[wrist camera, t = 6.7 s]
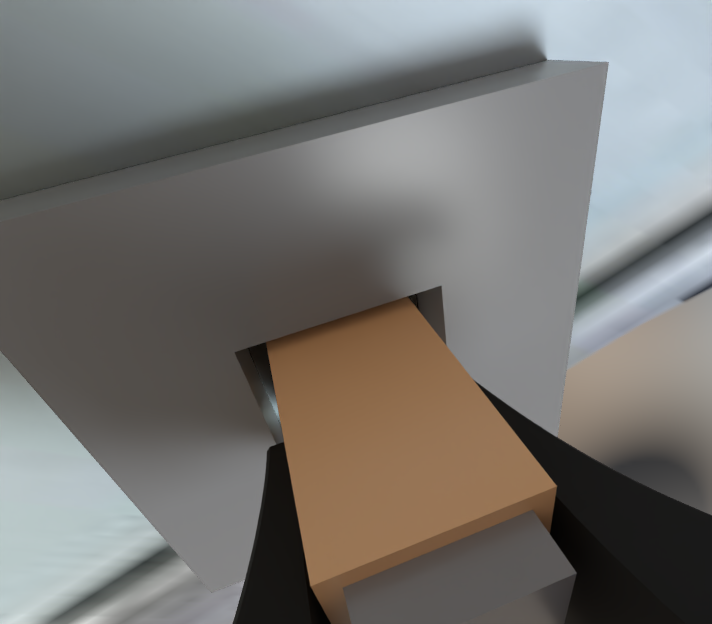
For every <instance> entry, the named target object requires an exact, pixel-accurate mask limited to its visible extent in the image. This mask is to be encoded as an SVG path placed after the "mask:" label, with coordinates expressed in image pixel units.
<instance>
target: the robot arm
mask: <svg viewBox="0 0 712 624" xmlns="http://www.w3.org/2000/svg"><path fill="white" fill-rule="evenodd" d="M474 381H475V380H474ZM475 383H476V384H477V385H478V386H479V388H480V389H481V390H482V392H483V393H484V394H485V395H486V397H487V398H488V399H489V400H490V402H491V403H492V404H493V406H494V407H495V408H496V409H497V411H498V412H499V413H500V414H501V416H502V417H503V418H504V420H505V421H506V422H507V423H508V425H509V426H510V427H511V428H512V430H513V431H514V432H515V434H516V435H517V436H518V437H519V439H520V440H521V441H522V442H523V444H524V445H525V446H526V447H527V449H528V450H529V451H530V453H531V454H532V455H533V456H534V458H535V459H536V460H537V461H538V463H539V464H540V465H541V467H542V468H543V469H544V470H545V472H546V473H547V474H548V475H549V477H550V478H551V479H552V481H553V482H554V483H555V484H556V486H557V489H556V496H555V503H554V509H553V516H552V523H551V529H550V535H551V537H552V538H553V540H554V541H555V542H556V544H557V545H558V547H559V548H560V550H561V551H562V552H563V554H564V555H565V557H566V558H567V560H568V561H569V563H570V564H571V565H572V567H573V568H574V570H575V571H576V573H577V574H576V578H575V582H574V586H573V590H572V594H571V598H570V602H569V606H568V611H567V615H566V619H565V623H564V624H712V515H710V514H707V513H705V512H702V511H700V510H698V509H695V508H693V507H691V506H689V505H686V504H684V503H682V502H679V501H677V500H675V499H673V498H670V497H668V496H666V495H664V494H661V493H659V492H657V491H655V490H653V489H651V488H649V487H647V486H645V485H643V484H641V483H639V482H636V481H634V480H632V479H631V478H629V477H627V476H625V475H623V474H621V473H619V472H617V471H615V470H613V469H611V468H609V467H608V466H606V465H604V464H602V463H600V462H598V461H597V460H595V459H593V458H591V457H589V456H588V455H586V454H584V453H583V452H581V451H579V450H577V449H576V448H574V447H572V446H571V445H569V444H567V443H566V442H564V441H562V440H561V439H559V438H558V437H556V436H554V435H553V434H551V433H549V432H548V431H546V430H545V429H543V428H542V427H540V426H539V425H537V424H536V423H534V422H533V421H531V420H530V419H528V418H527V417H525V416H524V415H522V414H521V413H519V412H518V411H516V410H515V409H513V408H512V407H510V406H509V405H508V404H506V403H505V402H503V401H502V400H501V399H499V398H498V397H496V396H495V395H494V394H492V393H491V392H490V391H488V390H487V389H485V388H484V387H483V386H481V385H480V384H479V383H477V382H476V381H475ZM233 624H331V623H330V621H329V619H328V617H327V615H326V614H325V612H324V610H323V608H322V606H321V604H320V603H319V601H318V599H317V597H316V595H315V594H314V592H313V590H312V588H311V586H310V581H309V575H308V570H307V564H306V559H305V553H304V548H303V542H302V537H301V531H300V526H299V520H298V515H297V510H296V504H295V499H294V493H293V488H292V482H291V477H290V471H289V466H288V460H287V455H286V449H285V444H284V442H282V443H279V444H276V445H274V446H271V447H269V449H268V450H267V459H266V472H265V481H264V488H263V495H262V502H261V508H260V513H259V518H258V524H257V529H256V534H255V539H254V544H253V549H252V553H251V557H250V561H249V565H248V569H247V573H246V577H245V582H244V586H243V589H242V593H241V597H240V600H239V604H238V607H237V611H236V614H235V618H234V621H233Z"/></svg>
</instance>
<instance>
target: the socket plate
mask: <svg viewBox="0 0 712 624" xmlns="http://www.w3.org/2000/svg"><path fill="white" fill-rule="evenodd" d="M608 63H609V62H590V61H563V60H547V61H543V62H539V63H535V64H531V65H527V66H523V67H519V68H516V69H512V70H508V71H504V72H500V73H496V74H492V75H488V76H484V77H480V78H477V79H473V80H469V81H465V82H461V83H457V84H453V85H449V86H445V87H441V88H437V89H434V90H430V91H426V92H422V93H418V94H414V95H410V96H406V97H402V98H398V99H395V100H391V101H387V102H383V103H379V104H375V105H371V106H367V107H363V108H359V109H355V110H352V111H348V112H344V113H340V114H336V115H332V116H328V117H324V118H320V119H316V120H312V121H309V122H305V123H301V124H297V125H293V126H289V127H285V128H281V129H277V130H273V131H270V132H266V133H262V134H258V135H254V136H250V137H246V138H242V139H238V140H234V141H230V142H227V143H223V144H219V145H215V146H211V147H207V148H203V149H199V150H195V151H191V152H188V153H184V154H180V155H176V156H172V157H168V158H164V159H160V160H156V161H152V162H148V163H145V164H141V165H137V166H133V167H129V168H125V169H121V170H117V171H113V172H109V173H106V174H102V175H98V176H94V177H90V178H86V179H82V180H78V181H74V182H70V183H66V184H63V185H59V186H55V187H51V188H47V189H43V190H39V191H35V192H31V193H27V194H24V195H20V196H16V197H12V198H8V199H4V200H0V351H1V352H2V353H3V354H4V355H5V356H6V357H7V359H8V360H9V361H10V362H11V363H12V364H13V365H14V367H15V368H16V369H17V370H18V371H19V372H20V373H21V375H22V376H23V377H24V378H25V379H26V380H27V382H28V383H29V384H30V385H31V386H32V387H33V388H34V390H35V391H36V392H37V393H38V394H39V395H40V396H41V398H42V399H43V400H44V401H45V402H46V403H47V405H48V406H49V407H50V408H51V409H52V410H53V411H54V413H55V414H56V415H57V416H58V417H59V418H60V419H61V421H62V422H63V423H64V424H65V425H66V426H67V428H68V429H69V430H70V431H71V432H72V433H73V434H74V436H75V437H76V438H77V439H78V440H79V441H80V442H81V444H82V445H83V446H84V447H85V448H86V449H87V450H88V452H89V453H90V454H91V455H92V456H93V457H94V459H95V460H96V461H97V462H98V463H99V464H100V465H101V467H102V468H103V469H104V470H105V471H106V472H107V473H108V475H109V476H110V477H111V478H112V479H113V480H114V482H115V483H116V484H117V485H118V486H119V487H120V488H121V490H122V491H123V492H124V493H125V494H126V495H127V496H128V498H129V499H130V500H131V501H132V502H133V503H134V505H135V506H136V507H137V508H138V509H139V510H140V511H141V513H142V514H143V515H144V516H145V517H146V518H147V519H148V521H149V522H150V523H151V524H152V525H153V526H154V527H155V529H156V530H157V531H158V532H159V533H160V534H161V536H162V537H163V538H164V539H165V540H166V541H167V542H168V544H169V545H170V546H171V547H172V548H173V549H174V550H175V552H176V553H177V554H178V555H179V556H180V557H181V559H182V560H183V561H184V562H185V563H186V564H187V565H188V567H189V568H190V569H191V570H192V571H193V572H194V573H195V575H196V576H197V577H198V578H199V579H200V580H201V582H202V583H203V584H204V585H205V586H206V587H207V588H208V590H209V591H210V592H211V593H213V592H215V591H218V590H220V589H223V588H226V587H228V586H231V585H233V584H236V583H238V582H241V581H243V580H245V577H246V573H247V569H248V565H249V561H250V557H251V553H252V549H253V544H254V539H255V534H256V529H257V524H258V518H259V513H260V508H261V502H262V495H263V488H264V481H265V472H266V459H267V450H268V449H269V447H271V446H274V445H276V444H279V443H282V442H284V438H283V433H282V427H281V425H280V423H279V420H278V418H277V416H276V413H275V411H274V409H273V406H272V404H271V402H270V399H269V397H268V395H267V392H266V390H265V388H264V386H263V383H262V381H261V379H260V376H259V374H258V372H257V369H256V367H255V365H254V362H253V360H252V358H251V355H250V353H249V351H248V348H249V347H252V346H255V345H258V344H261V343H264V342H268V341H271V340H274V339H277V338H280V337H283V336H286V335H289V334H292V333H296V332H299V331H302V330H305V329H308V328H311V327H314V326H317V325H320V324H323V323H327V322H330V321H333V320H336V319H339V318H342V317H345V316H348V315H351V314H354V313H358V312H361V311H364V310H367V309H370V308H373V307H376V306H379V305H382V304H385V303H389V302H392V301H395V300H398V299H401V298H404V297H407V296H410V295H413V294H416V293H417V299H418V308H419V311H420V313H421V314H422V315H423V317H424V318H425V319H426V320H427V322H428V323H429V324H430V325H431V327H432V328H433V329H434V331H435V332H436V333H437V334H438V336H439V337H440V338H441V339H442V341H443V342H444V343H445V345H446V346H447V347H448V348H449V350H450V351H451V352H452V353H453V355H454V356H455V357H456V358H457V360H458V361H459V362H460V364H461V365H462V366H463V367H464V369H465V370H466V371H467V372H468V374H469V375H470V376H471V378H472V379H473V380H475V381H476V382H477V383H479V384H480V385H481V386H483V387H484V388H485V389H487V390H488V391H490V392H491V393H492V394H494V395H495V396H496V397H498V398H499V399H501V400H502V401H503V402H505V403H506V404H508V405H509V406H510V407H512V408H513V409H515V410H516V411H518V412H519V413H521V414H522V415H524V416H525V417H527V418H528V419H530V420H531V421H533V422H534V423H536V424H537V425H539V426H540V427H542V428H543V429H545V430H546V431H548V432H549V433H551V434H553V435H554V436H556V437H557V436H558V429H559V422H560V414H561V407H562V399H563V393H564V385H565V377H566V371H567V363H568V356H569V349H570V341H571V334H572V327H573V319H574V312H575V305H576V297H577V290H578V283H579V275H580V268H581V261H582V253H583V246H584V239H585V232H586V224H587V217H588V210H589V202H590V195H591V188H592V180H593V173H594V166H595V158H596V151H597V144H598V136H599V129H600V122H601V114H602V107H603V100H604V92H605V85H606V78H607V71H608Z"/></svg>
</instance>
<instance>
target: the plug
mask: <svg viewBox="0 0 712 624" xmlns="http://www.w3.org/2000/svg"><path fill="white" fill-rule="evenodd" d="M266 345H267V350H268V356H269V361H270V367H271V372H272V378H273V383H274V389H275V394H276V400H277V405H278V411H279V416H280V422H281V427H282V433H283V438H284V444H285V449H286V455H287V460H288V466H289V471H290V477H291V482H292V488H293V493H294V499H295V504H296V510H297V515H298V520H299V526H300V531H301V537H302V542H303V548H304V553H305V559H306V564H307V570H308V575H309V581H310V586H311V588H312V590H313V592H314V594H315V595H316V597H317V599H318V601H319V603H320V604H321V606H322V608H323V610H324V612H325V614H326V615H327V617H328V619H329V621H330V623H331V624H564V623H565V619H566V615H567V611H568V606H569V602H570V598H571V594H572V590H573V586H574V582H575V578H576V574H577V573H576V571H575V570H574V568H573V567H572V565H571V564H570V563H569V561H568V560H567V558H566V557H565V555H564V554H563V552H562V551H561V550H560V548H559V547H558V545H557V544H556V542H555V541H554V540H553V538H552V537H551V535H550V529H551V523H552V516H553V509H554V503H555V496H556V489H557V486H556V484H555V483H554V482H553V481H552V479H551V478H550V477H549V475H548V474H547V473H546V472H545V470H544V469H543V468H542V467H541V465H540V464H539V463H538V461H537V460H536V459H535V458H534V456H533V455H532V454H531V453H530V451H529V450H528V449H527V447H526V446H525V445H524V444H523V442H522V441H521V440H520V439H519V437H518V436H517V435H516V434H515V432H514V431H513V430H512V428H511V427H510V426H509V425H508V423H507V422H506V421H505V420H504V418H503V417H502V416H501V414H500V413H499V412H498V411H497V409H496V408H495V407H494V406H493V404H492V403H491V402H490V400H489V399H488V398H487V397H486V395H485V394H484V393H483V392H482V390H481V389H480V388H479V386H478V385H477V384H476V383H475V381H474V380H473V379H472V378H471V376H470V375H469V374H468V372H467V371H466V370H465V369H464V367H463V366H462V365H461V364H460V362H459V361H458V360H457V358H456V357H455V356H454V355H453V353H452V352H451V351H450V350H449V348H448V347H447V346H446V345H445V343H444V342H443V341H442V339H441V338H440V337H439V336H438V334H437V333H436V332H435V331H434V329H433V328H432V327H431V325H430V324H429V323H428V322H427V320H426V319H425V318H424V317H423V315H422V314H421V313H420V311H419V310H418V309H417V308H416V306H415V305H414V304H413V303H412V301H411V300H410V299H409V297H408V296H407V297H404V298H401V299H398V300H395V301H392V302H389V303H385V304H382V305H379V306H376V307H373V308H370V309H367V310H364V311H361V312H358V313H354V314H351V315H348V316H345V317H342V318H339V319H336V320H333V321H330V322H327V323H323V324H320V325H317V326H314V327H311V328H308V329H305V330H302V331H299V332H296V333H292V334H289V335H286V336H283V337H280V338H277V339H274V340H271V341H268V342H266Z"/></svg>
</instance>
